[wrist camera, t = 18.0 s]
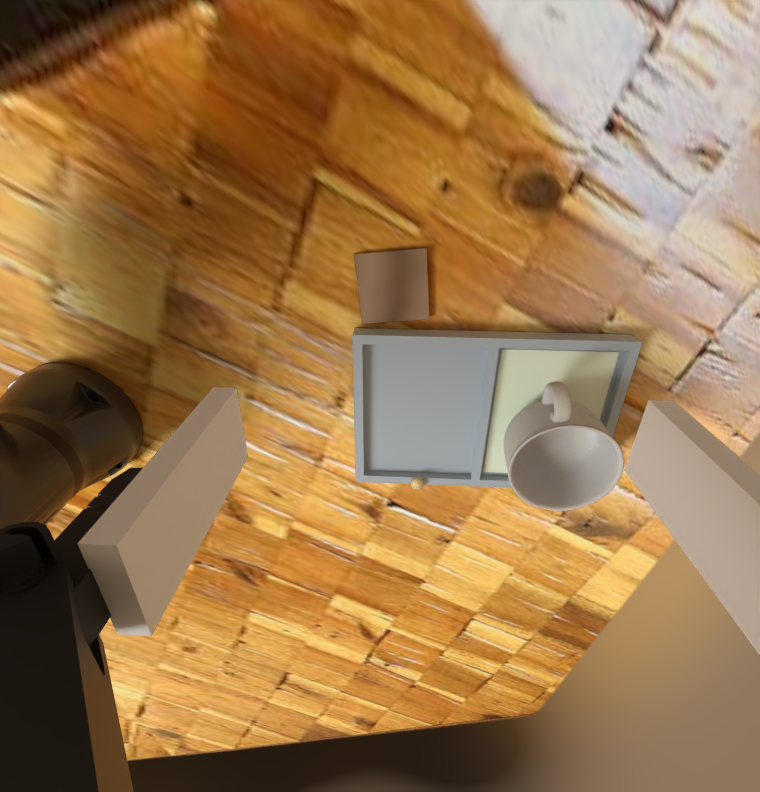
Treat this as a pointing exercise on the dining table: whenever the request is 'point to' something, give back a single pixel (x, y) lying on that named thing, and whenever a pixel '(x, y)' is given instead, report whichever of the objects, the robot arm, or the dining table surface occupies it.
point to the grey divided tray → (470, 396)
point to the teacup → (560, 453)
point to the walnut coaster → (393, 285)
